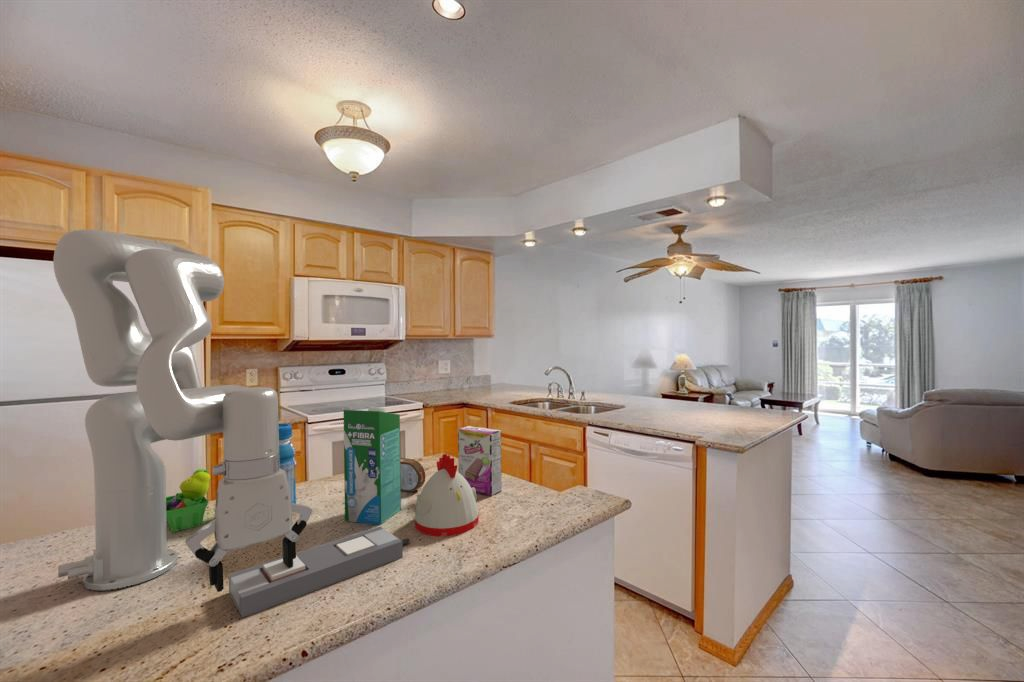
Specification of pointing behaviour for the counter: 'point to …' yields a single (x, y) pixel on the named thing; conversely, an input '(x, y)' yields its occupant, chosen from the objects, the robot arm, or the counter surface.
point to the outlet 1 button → (282, 569)
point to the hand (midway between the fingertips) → (254, 575)
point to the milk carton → (371, 465)
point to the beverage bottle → (287, 458)
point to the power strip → (312, 571)
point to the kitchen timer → (446, 502)
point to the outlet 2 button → (354, 546)
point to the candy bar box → (480, 458)
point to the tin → (411, 475)
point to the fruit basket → (188, 502)
